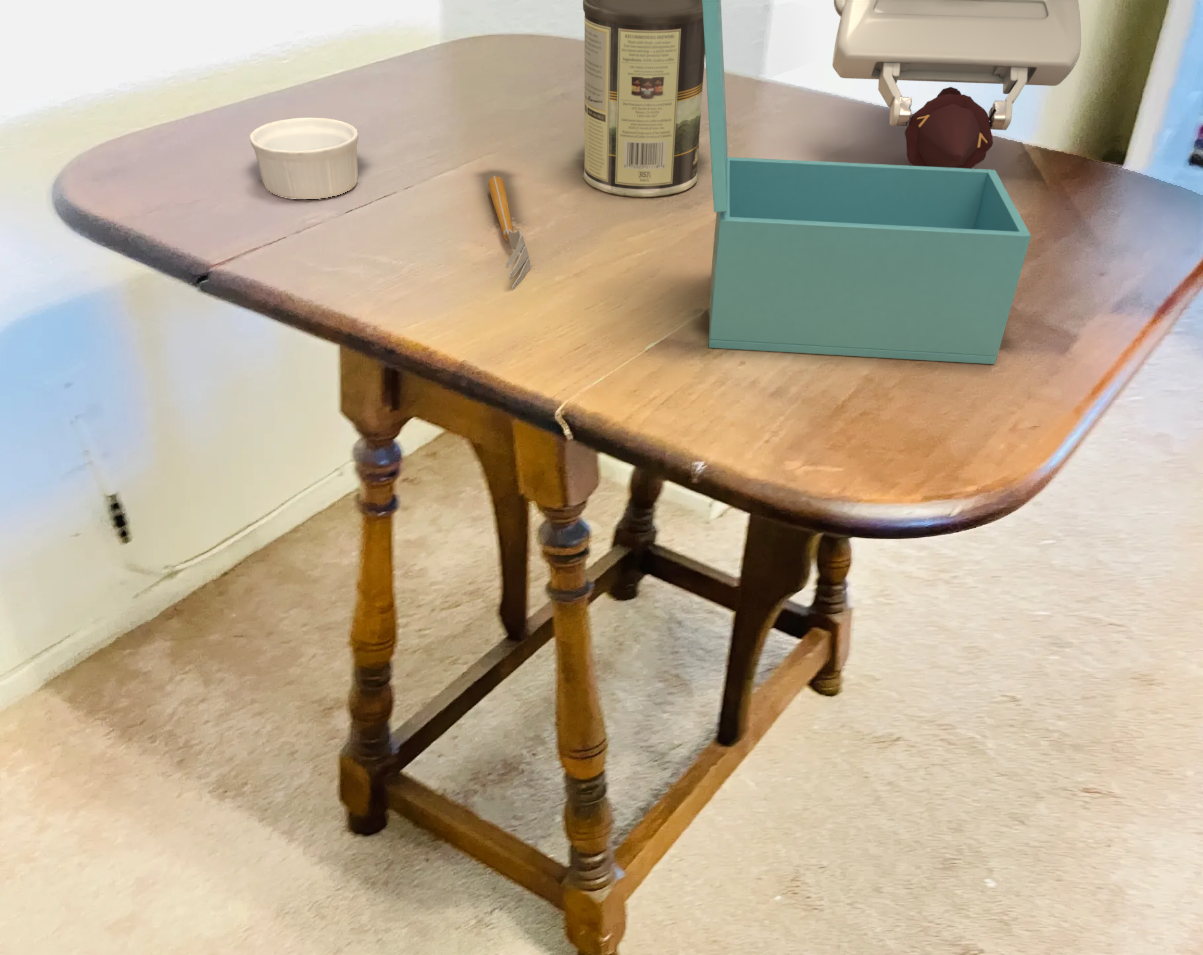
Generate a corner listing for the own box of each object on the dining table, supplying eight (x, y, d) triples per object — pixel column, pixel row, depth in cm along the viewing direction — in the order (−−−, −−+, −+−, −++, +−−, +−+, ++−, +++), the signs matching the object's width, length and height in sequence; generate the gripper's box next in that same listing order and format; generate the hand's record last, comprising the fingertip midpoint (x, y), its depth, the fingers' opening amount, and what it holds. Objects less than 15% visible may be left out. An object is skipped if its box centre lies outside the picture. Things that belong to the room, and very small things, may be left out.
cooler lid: (711, -196, 62) (698, -194, 62) (708, -177, 53) (692, -174, 53) (727, 149, 74) (716, 150, 74) (727, 211, 65) (714, 212, 66)
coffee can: (661, 152, 101) (670, -18, 92) (719, 187, 94) (735, 7, 85) (562, 167, 97) (561, -9, 88) (615, 205, 91) (620, 19, 81)
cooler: (965, 288, 79) (995, 169, 74) (995, 364, 70) (1031, 235, 65) (711, 275, 80) (721, 156, 75) (708, 348, 71) (719, 219, 66)
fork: (480, 172, 91) (503, 261, 76) (501, 166, 91) (528, 253, 76) (488, 201, 93) (513, 294, 78) (509, 195, 93) (538, 286, 78)
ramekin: (385, 181, 94) (379, 129, 91) (311, 212, 88) (303, 157, 85) (312, 161, 98) (304, 110, 95) (236, 189, 92) (226, 136, 89)
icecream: (1023, 127, 85) (994, 92, 97) (935, 97, 84) (917, 65, 96) (980, 214, 89) (958, 169, 101) (896, 185, 88) (883, 143, 101)
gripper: (841, -59, 90) (832, 99, 89) (1091, -52, 89) (1085, 109, 88) (830, -10, 96) (821, 138, 95) (1063, -3, 95) (1057, 148, 94)
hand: (950, 124), depth 91 cm, fingers closed on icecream, 7 cm apart
